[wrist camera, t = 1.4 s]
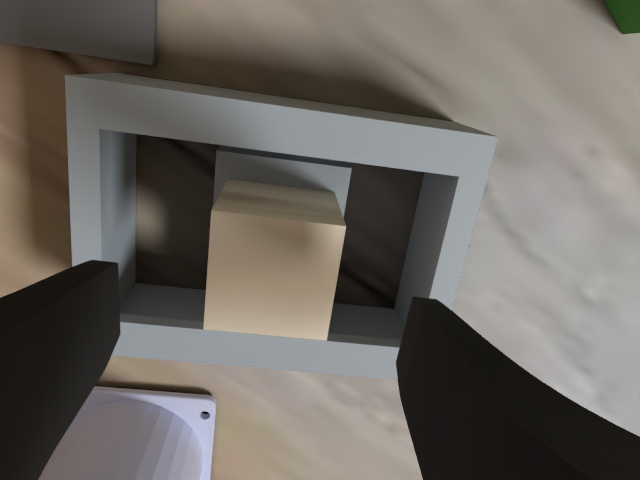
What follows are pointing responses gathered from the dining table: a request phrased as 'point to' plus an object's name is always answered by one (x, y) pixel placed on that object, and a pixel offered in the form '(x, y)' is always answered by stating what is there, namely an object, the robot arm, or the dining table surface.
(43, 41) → the mat
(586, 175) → the dining table surface
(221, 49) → the dining table surface
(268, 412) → the dining table surface
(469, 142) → the slot box
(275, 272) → the block
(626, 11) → the hardback book
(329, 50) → the dining table surface
